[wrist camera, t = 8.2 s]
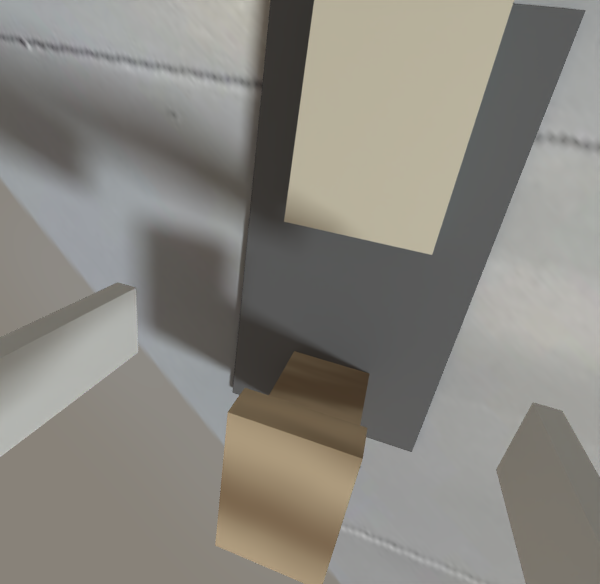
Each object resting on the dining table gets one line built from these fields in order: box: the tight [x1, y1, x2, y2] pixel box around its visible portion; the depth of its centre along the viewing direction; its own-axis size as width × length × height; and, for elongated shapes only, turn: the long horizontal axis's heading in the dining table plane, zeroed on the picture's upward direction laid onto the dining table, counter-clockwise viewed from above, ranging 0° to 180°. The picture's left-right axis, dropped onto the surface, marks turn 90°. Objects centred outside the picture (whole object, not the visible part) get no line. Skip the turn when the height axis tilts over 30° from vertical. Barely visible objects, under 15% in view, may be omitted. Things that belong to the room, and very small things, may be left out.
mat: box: [233, 0, 585, 452], centre depth 20 cm, size 24×13×1 cm, turn 171°
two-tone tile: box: [284, 0, 514, 255], centre depth 16 cm, size 10×7×3 cm
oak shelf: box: [215, 351, 370, 584], centre depth 19 cm, size 8×5×10 cm, turn 171°
